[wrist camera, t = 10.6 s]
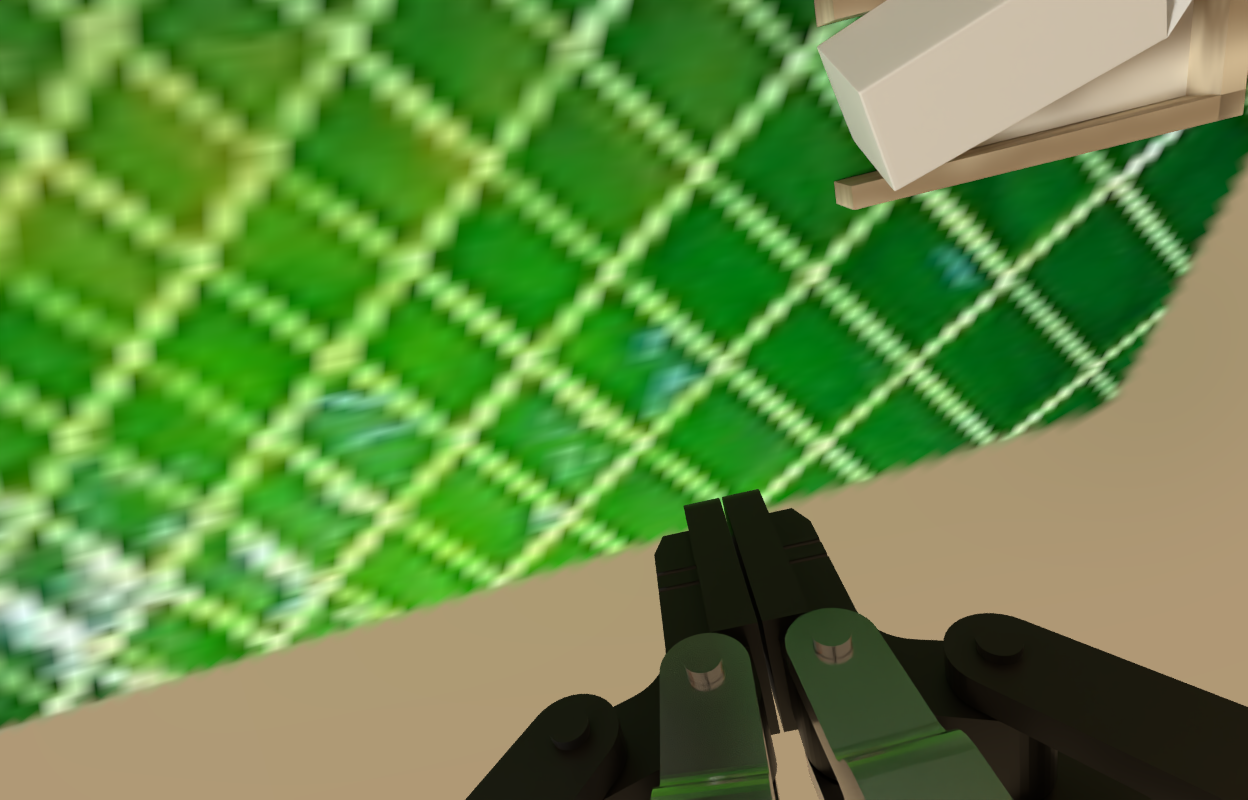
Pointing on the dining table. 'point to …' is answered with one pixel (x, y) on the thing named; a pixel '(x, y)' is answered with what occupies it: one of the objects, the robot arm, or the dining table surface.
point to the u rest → (1095, 102)
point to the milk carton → (973, 69)
